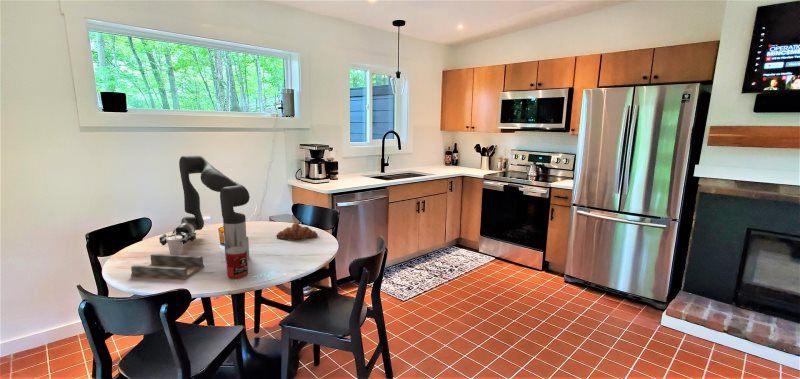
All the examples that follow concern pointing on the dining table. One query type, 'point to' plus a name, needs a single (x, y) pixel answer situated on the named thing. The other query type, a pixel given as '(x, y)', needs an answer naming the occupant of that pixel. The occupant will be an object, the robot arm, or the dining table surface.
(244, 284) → the dining table surface
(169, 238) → the smoothie
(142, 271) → the door track
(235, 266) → the canned food
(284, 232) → the pastry
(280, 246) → the dining table surface
